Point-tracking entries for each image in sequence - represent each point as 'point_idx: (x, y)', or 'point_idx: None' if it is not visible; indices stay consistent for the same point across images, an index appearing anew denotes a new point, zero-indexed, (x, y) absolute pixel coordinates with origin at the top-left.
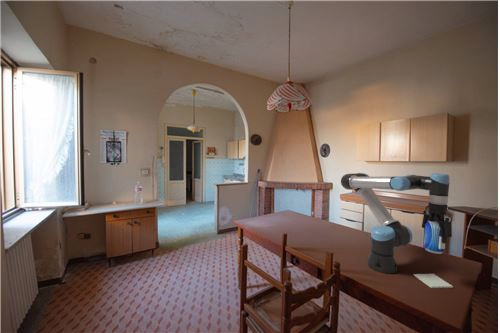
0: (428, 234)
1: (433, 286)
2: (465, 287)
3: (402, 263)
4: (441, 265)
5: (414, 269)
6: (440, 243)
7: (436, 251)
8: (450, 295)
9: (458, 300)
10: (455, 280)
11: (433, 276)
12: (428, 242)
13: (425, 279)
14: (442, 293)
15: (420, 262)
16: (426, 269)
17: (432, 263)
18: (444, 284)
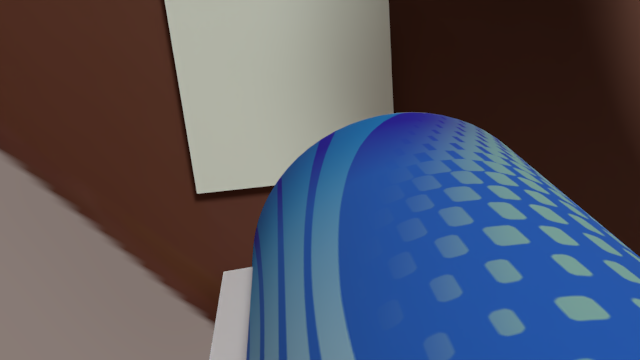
0: (447, 267)
1: (166, 5)
2: (219, 292)
3: (624, 5)
4: None
5: (499, 55)
6: (214, 345)
7: (262, 209)
8: (70, 78)
9: (4, 92)
10: None
11: None
12: (380, 171)
13: (288, 15)
14: (89, 27)
15: (621, 211)
16: None
17: None
18: (217, 140)
